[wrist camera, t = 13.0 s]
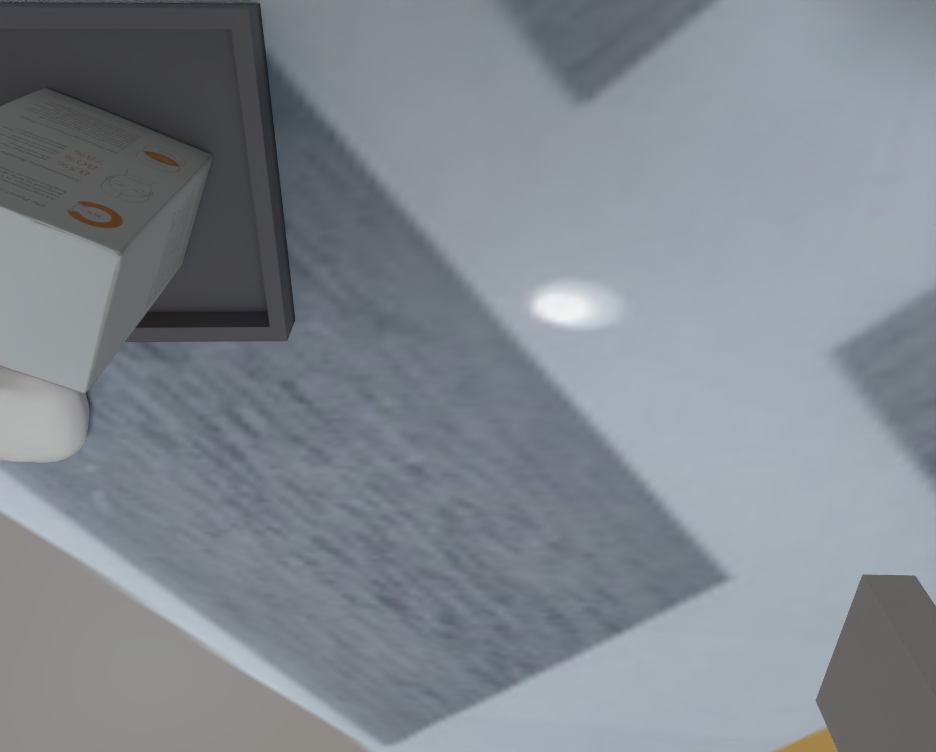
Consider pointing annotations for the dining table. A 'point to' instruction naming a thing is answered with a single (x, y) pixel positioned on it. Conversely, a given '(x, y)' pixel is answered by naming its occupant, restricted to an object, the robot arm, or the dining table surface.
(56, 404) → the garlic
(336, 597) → the dining table surface
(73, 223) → the small box
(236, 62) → the holder
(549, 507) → the dining table surface
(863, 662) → the robot arm
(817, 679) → the dining table surface
